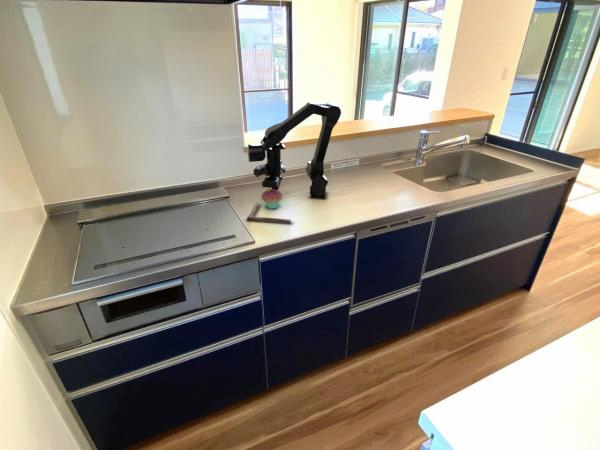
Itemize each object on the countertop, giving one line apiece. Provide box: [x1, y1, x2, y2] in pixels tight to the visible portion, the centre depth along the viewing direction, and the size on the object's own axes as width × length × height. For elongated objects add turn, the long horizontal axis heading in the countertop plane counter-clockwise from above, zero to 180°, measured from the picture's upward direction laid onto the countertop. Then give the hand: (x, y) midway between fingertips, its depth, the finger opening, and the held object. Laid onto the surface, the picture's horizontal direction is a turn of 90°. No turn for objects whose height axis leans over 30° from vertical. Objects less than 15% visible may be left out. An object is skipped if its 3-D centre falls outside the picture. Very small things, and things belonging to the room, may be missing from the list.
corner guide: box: [246, 202, 292, 225], centre depth 137 cm, size 17×13×2 cm
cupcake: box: [261, 188, 283, 209], centre depth 141 cm, size 9×8×12 cm
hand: (275, 194), depth 148 cm, fingers closed
